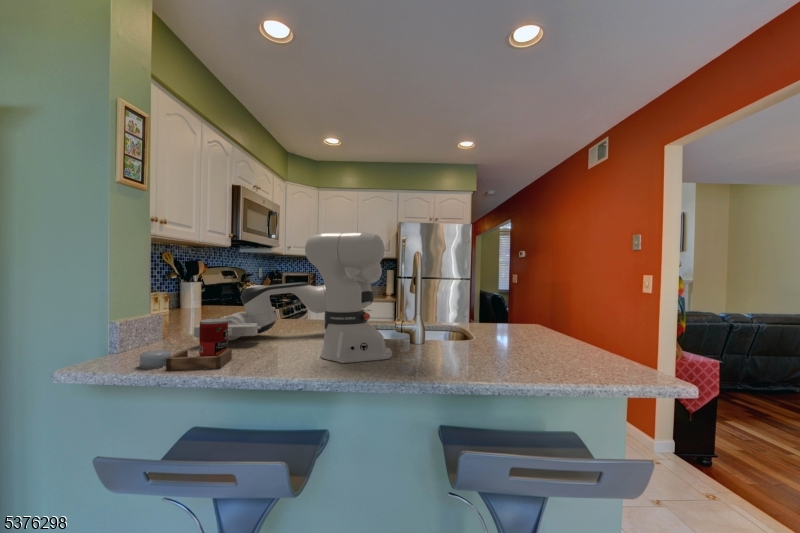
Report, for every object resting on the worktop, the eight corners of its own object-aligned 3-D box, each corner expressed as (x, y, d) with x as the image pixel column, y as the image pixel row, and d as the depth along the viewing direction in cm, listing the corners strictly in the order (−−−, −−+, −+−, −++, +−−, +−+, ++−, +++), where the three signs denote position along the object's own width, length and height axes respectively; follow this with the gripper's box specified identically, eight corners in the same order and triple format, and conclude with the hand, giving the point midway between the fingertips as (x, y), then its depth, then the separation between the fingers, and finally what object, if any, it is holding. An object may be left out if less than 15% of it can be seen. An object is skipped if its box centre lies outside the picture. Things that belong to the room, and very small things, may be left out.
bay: (231, 358, 104) (231, 348, 104) (220, 368, 94) (220, 357, 94) (183, 360, 102) (183, 350, 102) (166, 370, 92) (166, 358, 92)
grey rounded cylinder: (174, 362, 100) (175, 349, 100) (162, 368, 93) (162, 355, 93) (148, 362, 99) (148, 350, 99) (133, 369, 92) (134, 356, 92)
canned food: (219, 358, 104) (220, 322, 104) (193, 358, 104) (193, 321, 104) (232, 352, 111) (232, 318, 112) (208, 352, 112) (208, 318, 112)
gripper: (262, 335, 129) (253, 342, 115) (202, 336, 125) (186, 344, 112) (262, 318, 129) (253, 323, 115) (203, 319, 125) (186, 325, 112)
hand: (220, 334), depth 113 cm, fingers closed
